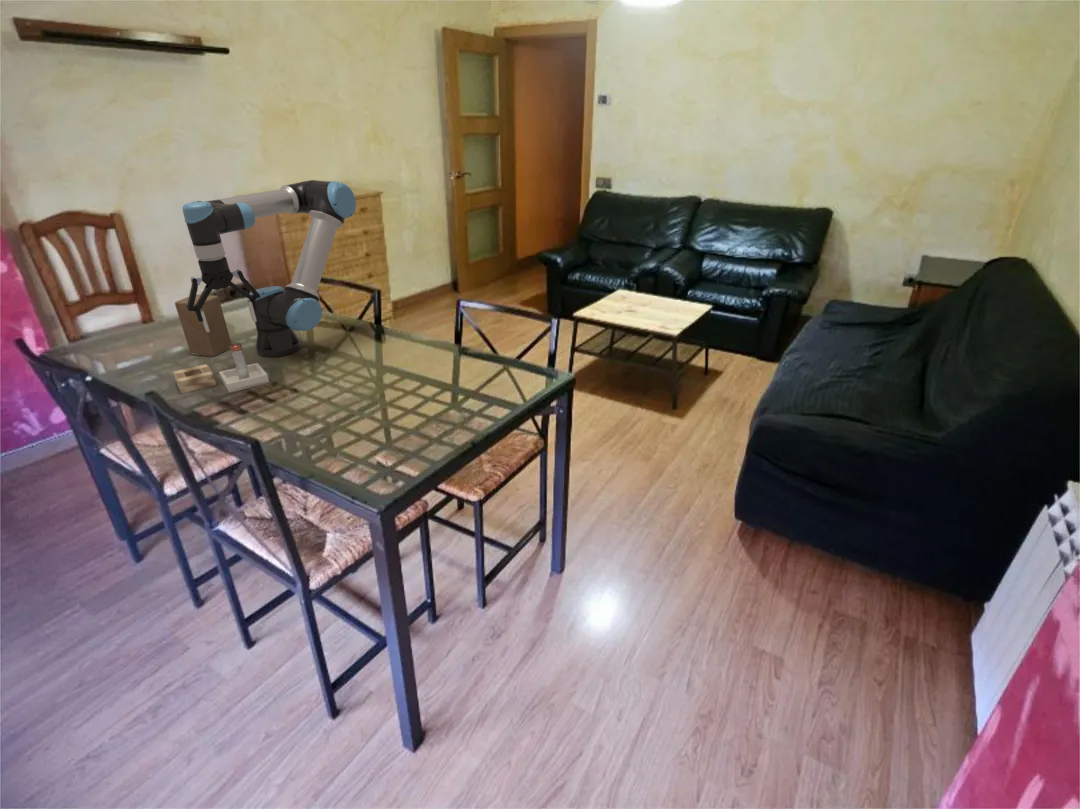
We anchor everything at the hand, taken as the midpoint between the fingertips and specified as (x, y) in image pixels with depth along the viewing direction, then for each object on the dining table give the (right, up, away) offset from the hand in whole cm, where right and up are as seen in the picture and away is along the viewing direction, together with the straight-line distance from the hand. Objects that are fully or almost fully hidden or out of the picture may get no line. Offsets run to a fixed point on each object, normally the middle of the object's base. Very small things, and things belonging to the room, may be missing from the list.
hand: (231, 325), depth 176 cm
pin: (0, -16, +8) cm, 18 cm away
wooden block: (-25, -5, +32) cm, 41 cm away
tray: (0, -17, +9) cm, 19 cm away
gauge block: (-15, -18, +7) cm, 25 cm away
